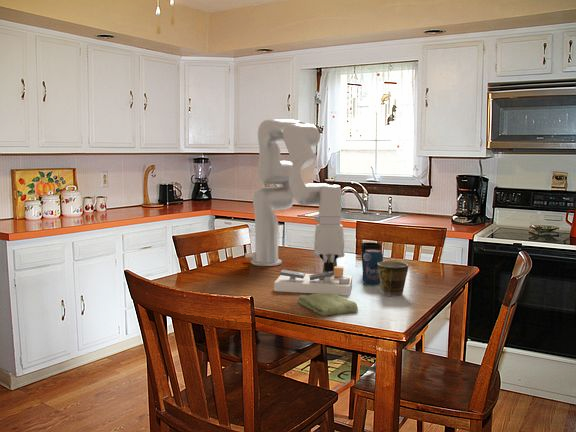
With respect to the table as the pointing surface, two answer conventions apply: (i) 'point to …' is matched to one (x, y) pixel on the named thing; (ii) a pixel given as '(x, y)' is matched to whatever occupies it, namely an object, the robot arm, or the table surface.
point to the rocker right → (322, 275)
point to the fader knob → (338, 271)
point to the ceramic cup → (392, 277)
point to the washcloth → (328, 304)
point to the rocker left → (292, 274)
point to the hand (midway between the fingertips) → (328, 272)
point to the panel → (314, 284)
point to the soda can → (371, 266)
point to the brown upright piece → (329, 261)
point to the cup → (369, 246)
